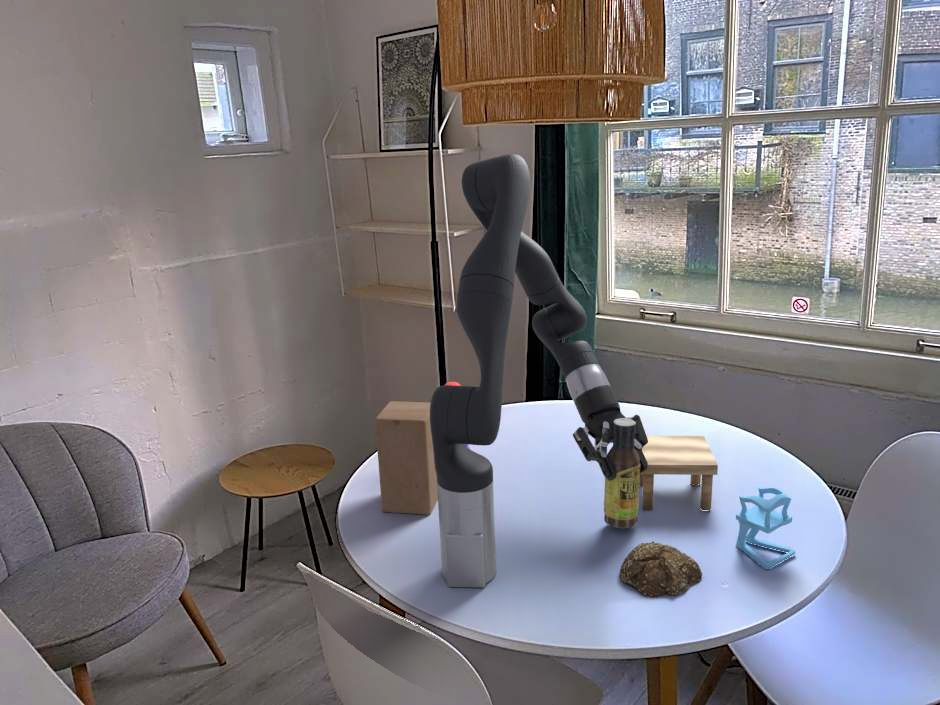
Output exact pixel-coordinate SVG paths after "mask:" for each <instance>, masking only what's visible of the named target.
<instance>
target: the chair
mask: <svg viewBox="0 0 940 705" xmlns="http://www.w3.org/2000/svg"><path fill="white" fill-rule="evenodd" d="M757 489H758V493H759V494H758V495H759V496H758V495H748V496H744V495H738V498H739V501H740V505H741V511H740V512H739V513H736V514H735V520H736V521H738V524H739V528H738V530H739V531H738V534H737V539H736V544H735V547H736V548H738V547H739V548H740V549H739V548H738V549H739V550H741V551H742V550H743V551H744V552H743V551H742V552H743V553H745V554H746V553H747V554H748V555H749V556H750V557H751V558H750V557H749V556H748V555H747V554H746V555H747V556H748V557H749V558H750V559H752V558H753V559H754V560H755V561H756V562H757V563H756V562H755V561H754V560H753V559H752V560H753V561H754V562H755V563H756V564H757V565H759V566H760V565H761V566H762V567H761V566H760V567H761V568H763V567H764V568H765V569H764V568H763V569H764V570H766V569H770V568H772V567H773V566H775V565H776V564H778V563H780V562H782V561H783V560H785V559H787V558H789V557H790V556H792V555H794V554H795V555H796V550H795V549H793V548H790V547H787V546H783V545H779V544H776V543H772V542H769V541H764V540H761V539H757V538H755V537H756V536H757V534H758V533H759V531H761V532H763V533H765V534H771V533H772V532H775V530H777V529H779V528H780V527H783V526H786V525H789V524H791V523H792V522H793V517H792V516H789V515H788V508H789V506H790V504H791V502H792V498H791V497H790V496H789V495H787V493H785V492H784V491H783V490H781V489H779V488H776V487H766V488H765V487H760V486H758V488H757ZM764 494H773V495H775V496H773V497H771V498H769V499H767V498H765V497H764ZM746 503H751V504H753V505H754V506H753V507H751V508H749V509H748V507H747V505H746ZM781 506H783V507H782V508H781V509H782V510H781V512H779V511H777V510H776V509H777V508H779V507H781ZM745 541H747V542H749V543H752V544H756V545H759V546H764V547H767V548H772V549H776V550H780V551H784V552H788V553H786V554H785V553H783V554H782V555H780V556H778V557H776V558H774V559H772V560H770V561H769V562H767V561H766V560H764V558H762V557H761V556H760V555H758V553H757V552H755V551H754V549H752V548H751V547H750V546H749V545H748V544H749V543H748V544H747V542H745ZM752 544H751V545H752ZM759 546H758V547H759ZM772 569H773V568H772ZM770 570H771V569H770Z"/></svg>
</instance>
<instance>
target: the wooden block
mask: <svg viewBox="0 0 940 705" xmlns="http://www.w3.org/2000/svg"><path fill="white" fill-rule="evenodd" d="M430 404H431V402H426V401H425V402H423V401H420V402H419V401H396V400H390V401H389V402H388V403H387V404H386V405H385V407H384V408H383V409H382V410H381V411H380V413H378V415H377V416H376V417H375V418H374V423H375V425H374V426H375V435H376V436H375V438H376V447H377V448H376V450H377V460H378V461H377V462H378V473H379V476H378V477H379V486H380V500H381V509H382V510H381V512H383V513H393V514H395V513H396V514H411V515H428V516H429V515H432V514H431V513H432V512H433V509H434V508H435V506H436V504H437V503H438V490H437V474H436V470H435V464H434V452H433V443H432V435H431V426H430Z"/></svg>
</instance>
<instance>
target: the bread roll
mask: <svg viewBox="0 0 940 705" xmlns="http://www.w3.org/2000/svg"><path fill="white" fill-rule="evenodd" d="M619 574H620V575H619V576H620V578H621V581H622V582H623V583H625V584H628V585H630V586H633V587H634V588H636V589H637V590H638V592H639V593H640V594H642V595H643V596H645V597H649V598H659V597H660V598H661V597H664V596H665V595H666V596H667V595H668V596H678V595H679V596H680V595H681V594H682V593H686V592H687V591H688V590H690V587H691V586H693V585H694V584H699V583H700V582H701V578H702V576H703V573H702V569H701V567H700V565H699V563H697V561H696V560H695V559H694V558H693V557H691V556H689V555H687V553H685V552H681V550H679V549H678V548H677V547H674V546H672V545H669V544H662V543H661V542H655V541H651V542H641V543H639V544H638V545H636V546H635V547H634V548H633V549H632V550H631V551H630V552H629V553H628V555H627V556H626V557H625V558H624V560H623V562H622V564H621V566H620V570H619Z"/></svg>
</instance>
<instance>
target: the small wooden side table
mask: <svg viewBox="0 0 940 705" xmlns="http://www.w3.org/2000/svg"><path fill="white" fill-rule="evenodd" d="M646 436H647V439H648V443H647V444H646V445H645V446H644V447H643V448H642V452H643V454H644V456H645V458H646V460H647V462H648V466H647V469H646V470H645V471H644V472H641V473H640V484H639V486H642V497H641V498H642V500H641V501H642V503H641V509H642V510H643V511H644V512H645V511H646V512H652V511H653V510H654V483H655V482H654V479H655V475H670V476H671V475H672V476H673V475H677V476H678V475H681V476H682V475H685V476H686V475H687V476H689V475H690V483H691V484H694V485H698V484H700V483H701V484H700V485H701V486H700V505H699V507H700V508H701V509H702V510H710V509H711V510H712V498H713V477H714V476H718V469H719V467H718V466H719V464H718V462H717V460H716V458H715V456H714V454H713V451H712V450H711V448H710V446H709V444H708V442H707V440H706V438H705V435H646ZM691 484H690V485H691ZM694 485H693V486H694ZM700 508H699V509H700ZM702 510H701V511H702Z"/></svg>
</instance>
